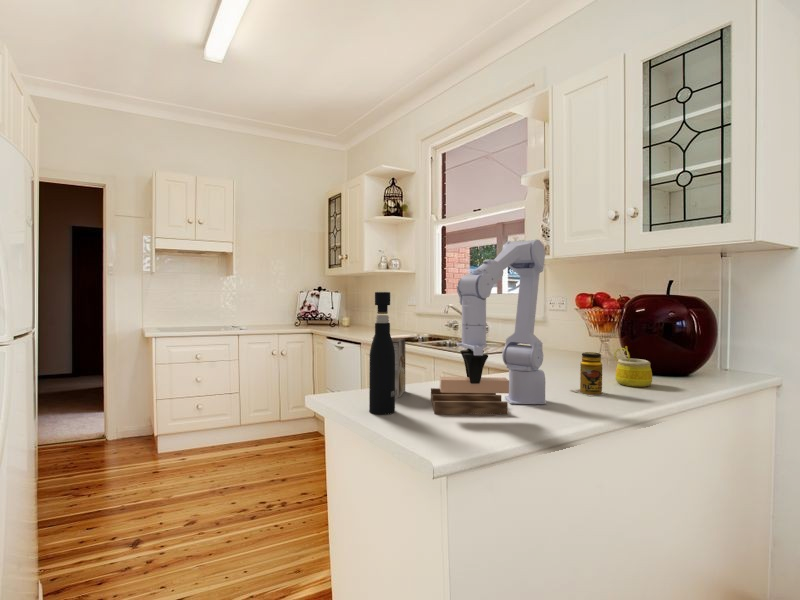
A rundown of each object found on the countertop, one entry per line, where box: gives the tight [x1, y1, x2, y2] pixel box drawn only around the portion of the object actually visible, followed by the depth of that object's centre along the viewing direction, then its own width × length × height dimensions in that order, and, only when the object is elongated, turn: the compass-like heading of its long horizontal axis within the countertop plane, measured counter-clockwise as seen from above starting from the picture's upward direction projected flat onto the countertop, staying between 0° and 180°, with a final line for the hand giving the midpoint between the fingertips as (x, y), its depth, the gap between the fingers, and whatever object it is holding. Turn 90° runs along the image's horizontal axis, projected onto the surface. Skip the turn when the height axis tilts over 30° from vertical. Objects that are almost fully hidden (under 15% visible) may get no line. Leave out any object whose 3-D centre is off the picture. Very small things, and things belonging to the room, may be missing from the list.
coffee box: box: [391, 337, 406, 399], centre depth 141 cm, size 9×6×16 cm
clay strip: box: [439, 376, 509, 394], centre depth 116 cm, size 16×4×3 cm, turn 90°
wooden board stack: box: [430, 387, 509, 416], centre depth 127 cm, size 18×16×3 cm
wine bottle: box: [368, 291, 396, 416], centre depth 121 cm, size 6×6×30 cm
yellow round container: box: [614, 345, 653, 388], centre depth 157 cm, size 13×11×12 cm
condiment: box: [569, 351, 609, 397], centre depth 145 cm, size 7×8×12 cm
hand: (473, 381), depth 116 cm, fingers closed on clay strip, 4 cm apart
